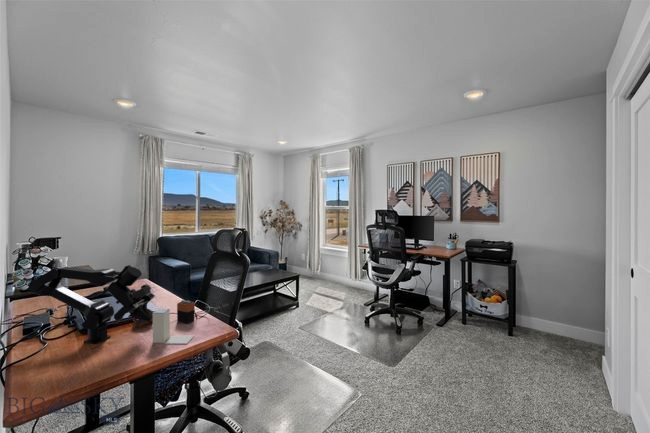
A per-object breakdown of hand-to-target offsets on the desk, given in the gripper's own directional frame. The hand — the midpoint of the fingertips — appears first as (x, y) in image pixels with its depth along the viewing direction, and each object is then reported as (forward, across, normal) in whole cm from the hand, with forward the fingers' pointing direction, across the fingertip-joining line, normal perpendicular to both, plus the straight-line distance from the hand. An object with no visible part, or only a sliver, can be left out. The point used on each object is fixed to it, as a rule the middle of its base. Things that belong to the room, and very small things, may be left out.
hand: (150, 320), depth 120 cm
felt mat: (+14, 0, -2) cm, 14 cm away
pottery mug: (-3, +16, +15) cm, 22 cm away
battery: (+10, +19, +2) cm, 22 cm away
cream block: (+9, 0, +3) cm, 9 cm away
